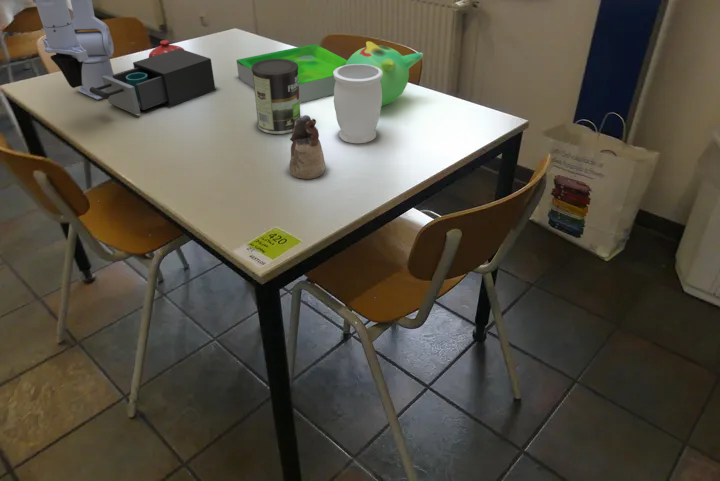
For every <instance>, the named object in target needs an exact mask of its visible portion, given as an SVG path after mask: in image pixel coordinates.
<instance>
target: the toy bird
mask: <svg viewBox="0 0 720 481" xmlns="http://www.w3.org/2000/svg"><path fill="white" fill-rule="evenodd" d="M423 57H424V53H423V52H414V53H409V54H406V55H402V54H401V53H400V52H399V51H398V50H396V49H394V48H392V47H390V46H386V45H379V44H378V45H377V44H376V43H375V42H373V41H371V40H367V41H366V42H365V47H362V48H360V49H358V50H356V51H355V52H354V53H353V54H351V55H350V56H349V57H348V59H347V62H346V64H345V65H350V64H366V65H372V66H375V67H378V68H379V69H381V70H382V74H383V76H382V78H381V80H380V82H381V88H382V105H381V107H382V106H386V105H388V104H391V103H392V102H394V101H395V100H396V99H398V98H399V97H400V96H401V95H402V94H403V92H404V91H405V89H406V88H407V85H408V82H409V79H410V69H411V67H413V66H414V65H416V63H418V62H419V61H420V60H422V58H423Z"/></svg>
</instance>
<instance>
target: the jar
mask: <svg viewBox="0 0 720 481" xmlns="http://www.w3.org/2000/svg"><path fill="white" fill-rule="evenodd" d="M333 76H334V78H335V80H336V82H335V87H334V94H333V105H334V106H333V107H334V111H335V118H336V121H337V125H338V127H339V129H340V130H339V132H338V137H339V138H340V139H341V140H342V141H344V142H346V143H350V144H366V143H369V142H371V141H373V140H374V139H376V137H377V132H376V127H377V125H378V123H379V119H380V114H381V110H382V106H383V105H382V88H381V82H380V80H381V78H382V76H383V74H382V70H381V69H379V68H378V67H375V66H372V65H366V64H350V65H344V66H341V67H338V68H336V69H335V70H334V72H333ZM381 105H382V106H381Z"/></svg>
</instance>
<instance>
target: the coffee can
mask: <svg viewBox="0 0 720 481" xmlns="http://www.w3.org/2000/svg"><path fill="white" fill-rule="evenodd" d="M251 69H252V72H253V82H254V88H253V90H254V100H255V109H256V117H257V128H258V129H259V130H260V131H262V132H263V133H266V134H272V135H284V134H285V135H286V134H290V133H293V128H294V125H295V121H296V120H297V119H298V118H300V117H301V116H302V115H301V103H300V99H299V81H298V64H297V63H296V62H294V61H291V60H286V59H268V60H262V61H259V62H257V63H255V64H253V65H252V67H251Z"/></svg>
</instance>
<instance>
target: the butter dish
mask: <svg viewBox="0 0 720 481" xmlns="http://www.w3.org/2000/svg"><path fill="white" fill-rule="evenodd" d="M159 44H160V45H158V46H157V47H155V48H153V49H152V50H151V51H150V52H149V54H148V58H150V57H153V56H156V55H160V54H163V53H166V52H169V51H173V50H176V49H179V48H180V49H183V50H185V48H184V47H181V46H178V45H175V44H170V41H169V40H168V39H163V40H161V41H160V42H159Z"/></svg>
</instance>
